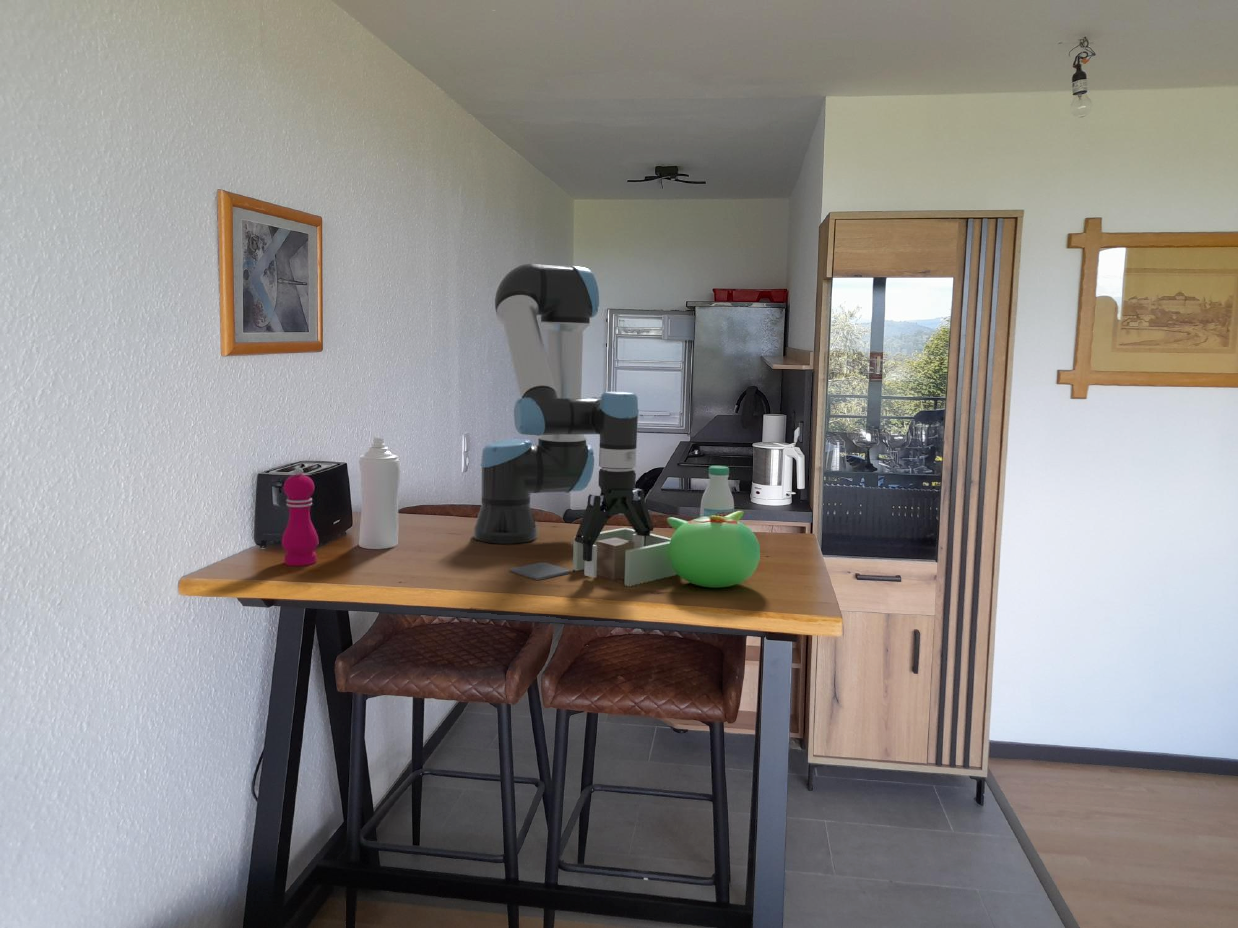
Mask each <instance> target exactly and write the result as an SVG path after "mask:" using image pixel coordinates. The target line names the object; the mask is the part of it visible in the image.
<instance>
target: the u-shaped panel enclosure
mask: <svg viewBox="0 0 1238 928" xmlns="http://www.w3.org/2000/svg"><path fill="white" fill-rule="evenodd" d="M633 534H637V533H636V532H635V530H634V529H633V528H628V527H622V528H615V529H609V530H604V531H603V530H602V531H601V533H600V534H599V536H598V538H597V540H596V541H599V540H605V539H610V538H615V537H616V538H620V539H624V540H628V541H633ZM575 537H576V536H573V544H572V545H573V547H572V550H573V551H572V553H573V554H572V555H573V556H572V570H573V571H582V570H584V569H585V561H584V560H583V544H582V543H579V542H576V541H575ZM582 537H583V536H582ZM671 538H672V537H666V536H663V535H657V534H654V533H650V535H649V536H646V544H645V545H646V546H645V547H640V548H635V549H630V550H626V552H625V577H624V586H626V585H628V586H627V587H631V586H630V585H633V586H636V585H635V584H637V585H641V584H644V583H643V582H645V583H649V582H652V581H656V579H657V580H660V579H664V577H665V578H668V577H673V576H677V575H678V574H677V573H676V572H675V570H674V569H673V567H672V565H671V563H670V559H669V543H670V540H671ZM589 539H590V538H589ZM596 541H595V543H594V545H596ZM648 581H649V582H648ZM640 583H641V584H640Z"/></svg>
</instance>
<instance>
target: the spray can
mask: <svg viewBox="0 0 1238 928" xmlns="http://www.w3.org/2000/svg"><path fill="white" fill-rule="evenodd" d="M368 449H369V450H367V451H365V453H364V454H361V455H360V456H359V460H358V463H359V467H360V468H359V471H360V482H361V502H362V505H361V514H360V522H359V523H360V524H359V534H358V535H359V537H358V539H359V541H358V546H359V547H361V548H364V549H369V550H384V549H391V548H394V547H396V546H398V545H399V544H398V543H399V542H398V540H399V494H400V491H399V490H400V478H401V466H400V460H399V458H398V457H399V455H398V454H394V453H392V452H391V451H390V450H389V447H387V446H386V443H384V438H379V437H373V442H372V443H371V446H369V447H368Z"/></svg>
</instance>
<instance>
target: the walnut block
mask: <svg viewBox="0 0 1238 928" xmlns="http://www.w3.org/2000/svg"><path fill="white" fill-rule="evenodd" d="M596 545H597V570H596V576H600V577H604V578H607V579H611V580H613V579H614V581H615V580H619V578H620V579H622V578H621V577H624V578H625V552H626V550H630V549H634V542H632V541H628V540H624V539H620V538H616V537H615V538H610V539H605V540H599V541H596Z"/></svg>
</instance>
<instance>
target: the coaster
mask: <svg viewBox="0 0 1238 928" xmlns="http://www.w3.org/2000/svg"><path fill="white" fill-rule="evenodd" d="M572 570H573V569H568V568H566V567H561V566H558V565H554V564H551V563H548V562H545V561H541V562H538V563H537V562H536V563H532V564H525V565H521V566H516V567H512V568H509V571H510V572H511V573H514V574H518V575H521V576H524V577H527V578H530V579H533V580H536V581H540V580H544V579H549V578H554V577H558V576H563V575H567V574H572V572H573V571H572Z"/></svg>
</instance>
